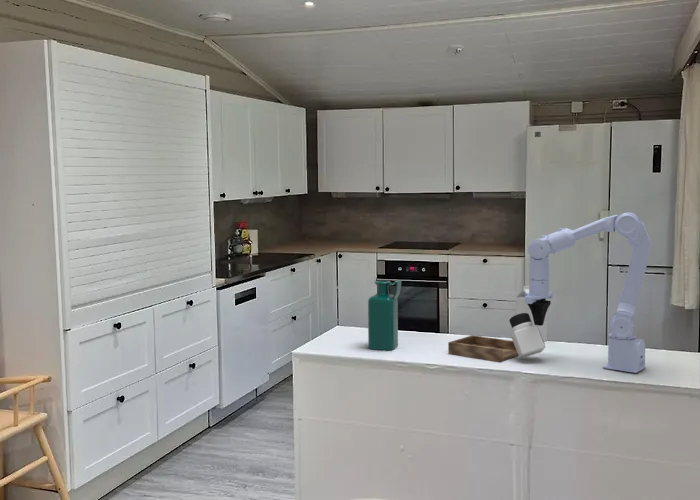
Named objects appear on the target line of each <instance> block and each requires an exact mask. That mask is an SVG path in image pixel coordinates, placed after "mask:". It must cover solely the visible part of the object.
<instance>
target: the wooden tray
mask: <svg viewBox="0 0 700 500" xmlns="http://www.w3.org/2000/svg"><path fill="white" fill-rule="evenodd" d="M447 345H448V351H447V352H448V355H455V356H460V357H465V358H473V359H478V360H483V361H484V360H485V361H491V362H495V363H496V362H497V363H503V362H505V361H508V360H510V359H513V358H515V357H519V356H518V353H517V351H516V348H515V345H514V343H513V340H509V339H502V338H496V337H487V336H481V335H469V336H465V337H461V338H459V339H455V340H452V341H449V342H448V344H447Z"/></svg>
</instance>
